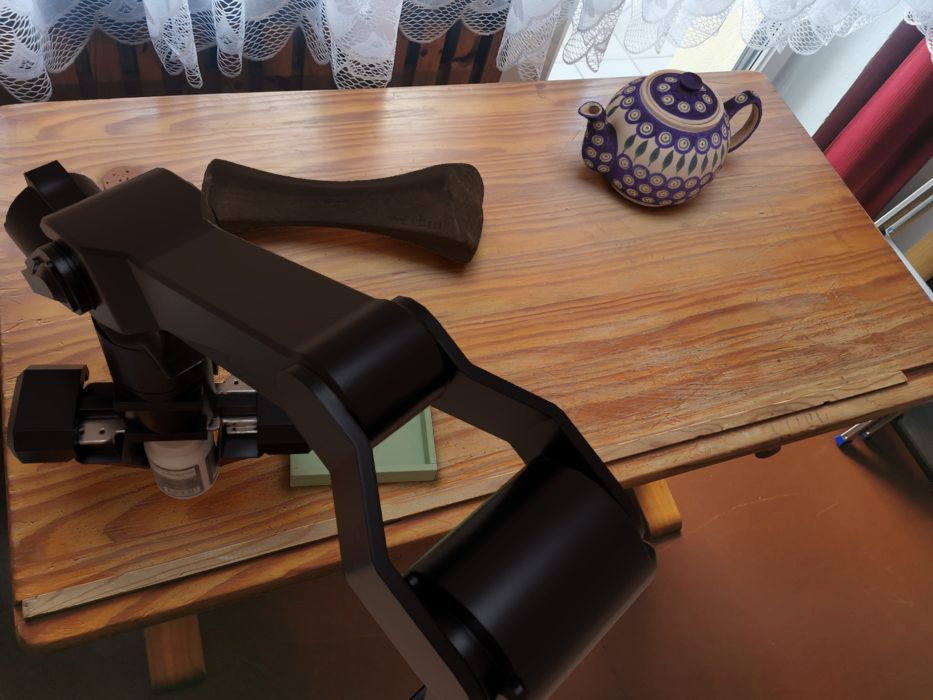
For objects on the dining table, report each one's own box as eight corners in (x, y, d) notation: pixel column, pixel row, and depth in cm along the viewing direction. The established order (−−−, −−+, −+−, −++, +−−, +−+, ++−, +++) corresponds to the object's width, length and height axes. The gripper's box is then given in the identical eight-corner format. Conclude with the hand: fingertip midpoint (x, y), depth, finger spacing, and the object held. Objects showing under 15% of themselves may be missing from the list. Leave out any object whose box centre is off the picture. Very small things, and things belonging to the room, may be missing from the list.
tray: (433, 480, 68) (437, 470, 66) (290, 486, 65) (290, 475, 63) (419, 361, 74) (423, 348, 72) (288, 361, 71) (289, 348, 69)
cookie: (100, 197, 77) (99, 190, 76) (105, 167, 79) (103, 160, 78) (143, 199, 78) (141, 192, 77) (146, 170, 80) (145, 162, 79)
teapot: (704, 130, 102) (762, 33, 90) (752, 216, 95) (823, 124, 83) (529, 135, 95) (567, 29, 82) (567, 229, 88) (615, 129, 75)
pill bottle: (188, 432, 62) (177, 380, 55) (232, 468, 61) (226, 419, 54) (140, 474, 59) (122, 425, 52) (185, 513, 58) (173, 467, 51)
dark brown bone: (476, 240, 87) (217, 244, 83) (480, 146, 81) (204, 145, 78) (491, 280, 77) (200, 287, 74) (497, 177, 72) (183, 178, 69)
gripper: (316, 248, 52) (308, 368, 65) (6, 240, 47) (63, 370, 60) (322, 395, 46) (312, 494, 59) (-31, 401, 42) (42, 507, 55)
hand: (185, 461), depth 58 cm, fingers closed on pill bottle, 5 cm apart
